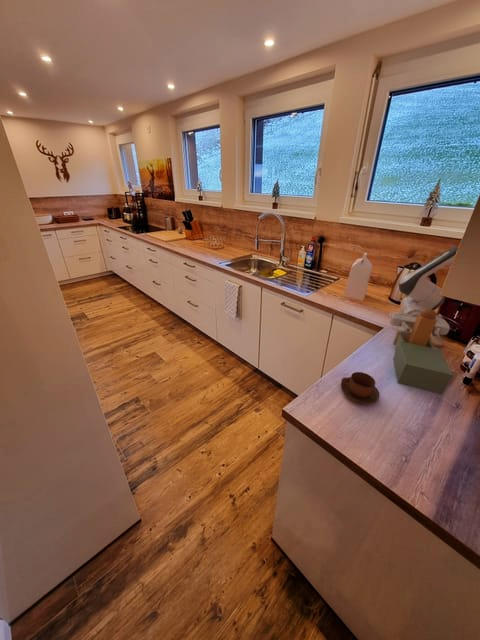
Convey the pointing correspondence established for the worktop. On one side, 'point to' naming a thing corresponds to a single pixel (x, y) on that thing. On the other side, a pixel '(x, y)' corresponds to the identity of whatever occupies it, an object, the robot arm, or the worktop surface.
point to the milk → (358, 279)
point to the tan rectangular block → (422, 327)
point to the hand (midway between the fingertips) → (421, 332)
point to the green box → (421, 367)
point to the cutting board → (436, 341)
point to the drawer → (406, 339)
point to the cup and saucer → (360, 388)
